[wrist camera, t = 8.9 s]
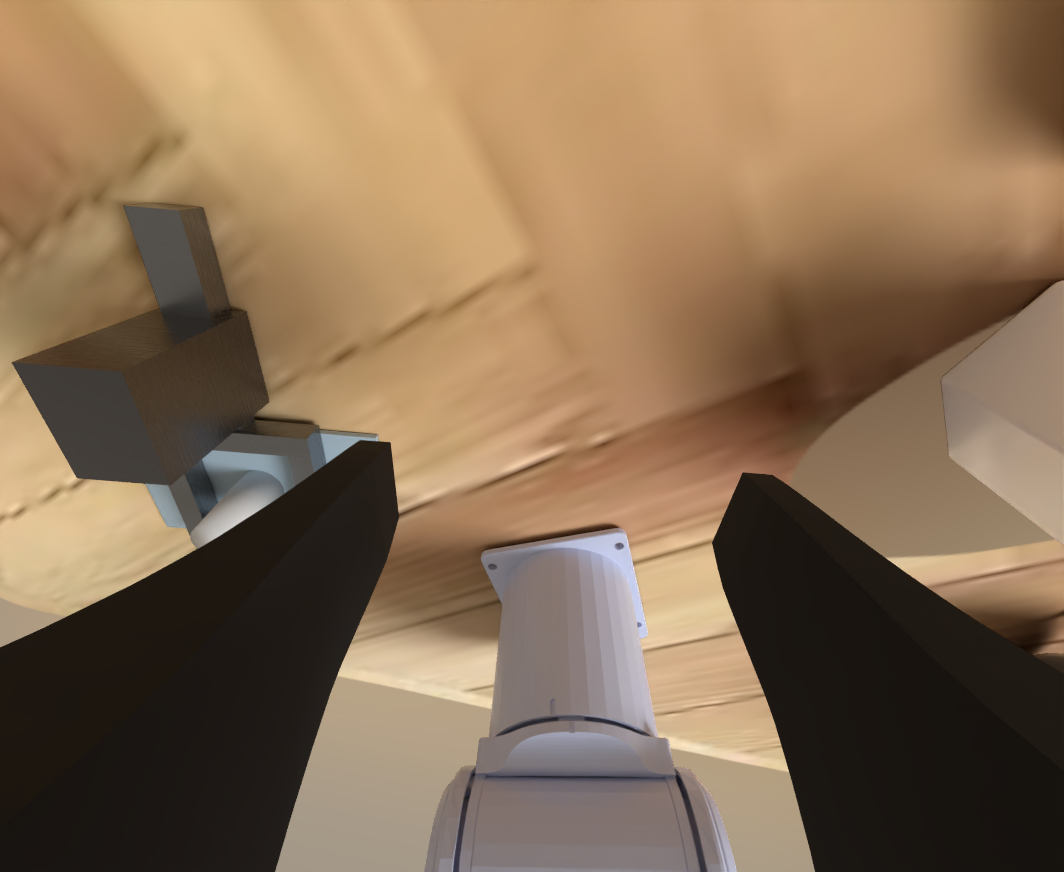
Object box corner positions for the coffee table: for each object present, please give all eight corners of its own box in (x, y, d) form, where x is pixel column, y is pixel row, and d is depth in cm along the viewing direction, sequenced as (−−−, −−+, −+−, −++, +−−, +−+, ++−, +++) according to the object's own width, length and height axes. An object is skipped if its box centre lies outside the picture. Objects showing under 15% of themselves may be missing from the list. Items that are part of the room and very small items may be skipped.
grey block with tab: (75, 195, 15) (-158, 210, 10) (277, 214, 16) (145, 237, 10) (209, 527, 24) (115, 628, 18) (341, 538, 24) (284, 640, 19)
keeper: (115, 412, 20) (28, 466, 17) (377, 434, 21) (343, 492, 17) (171, 522, 24) (109, 584, 21) (391, 540, 24) (365, 605, 21)
